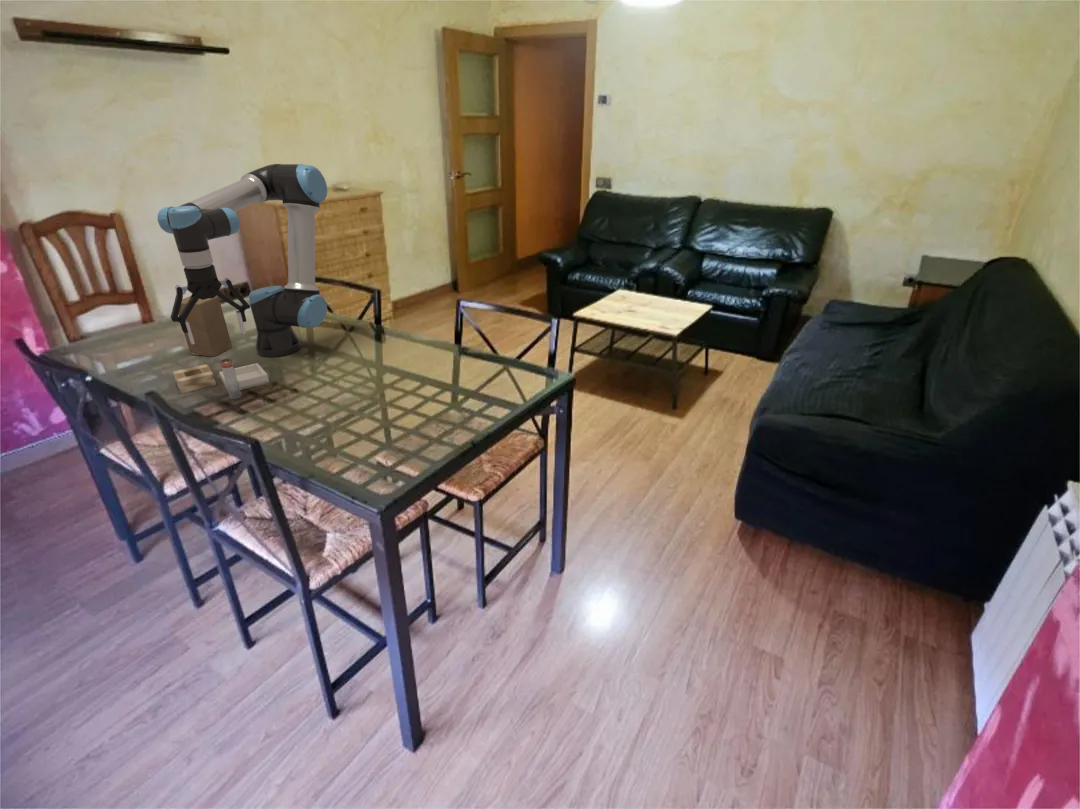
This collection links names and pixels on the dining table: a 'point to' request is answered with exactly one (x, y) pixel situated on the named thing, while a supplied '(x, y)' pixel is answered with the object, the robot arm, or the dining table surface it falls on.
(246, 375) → the tray
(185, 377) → the block
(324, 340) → the dining table surface
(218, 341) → the wooden block
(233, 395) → the pin
